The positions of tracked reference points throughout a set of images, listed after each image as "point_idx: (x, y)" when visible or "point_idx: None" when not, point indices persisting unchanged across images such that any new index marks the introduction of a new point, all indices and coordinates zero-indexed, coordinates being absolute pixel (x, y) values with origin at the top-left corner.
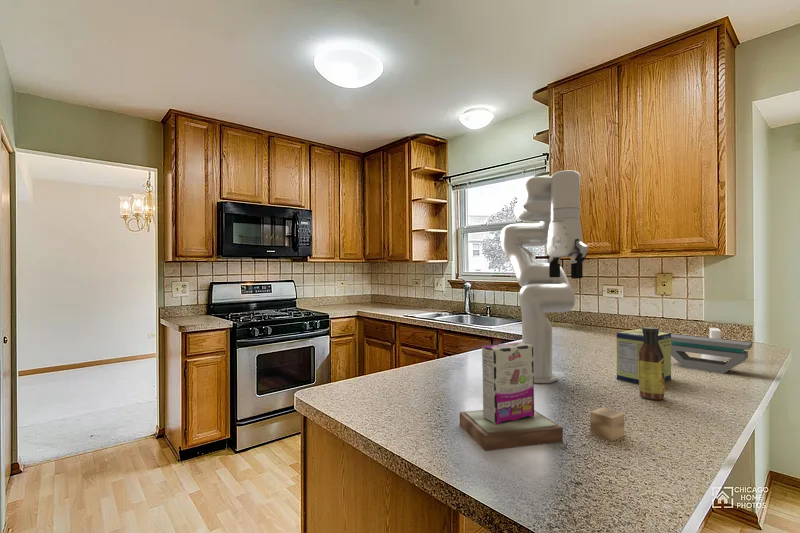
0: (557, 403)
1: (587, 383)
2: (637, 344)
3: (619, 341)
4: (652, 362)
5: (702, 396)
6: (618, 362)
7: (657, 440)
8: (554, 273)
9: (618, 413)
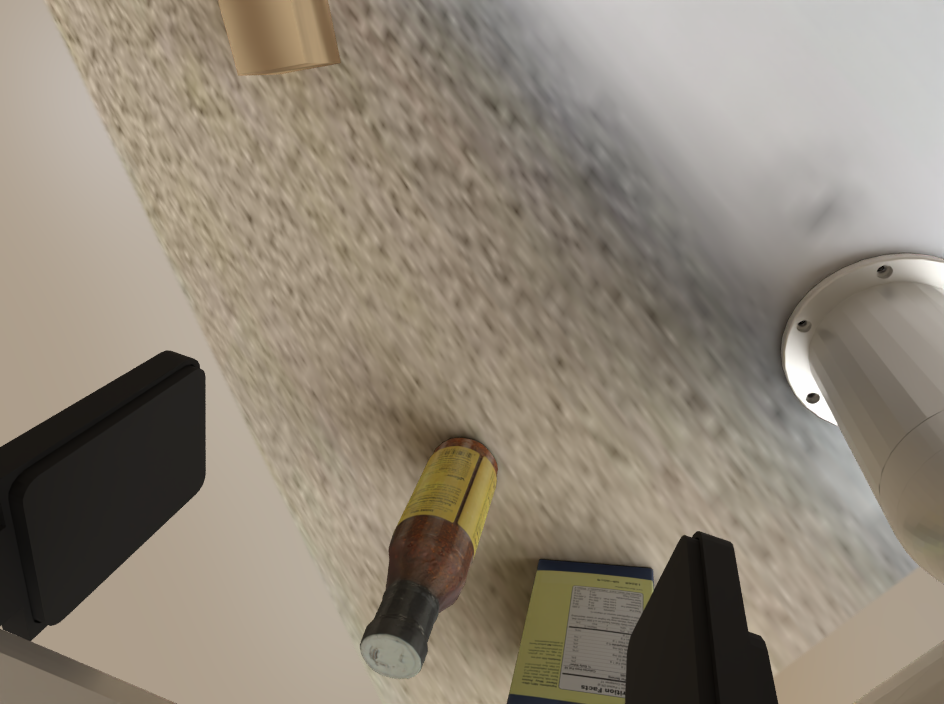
0: (583, 129)
1: (683, 447)
2: (557, 684)
3: None
4: (406, 518)
5: None
6: None
7: (231, 134)
8: (664, 623)
9: (243, 56)
